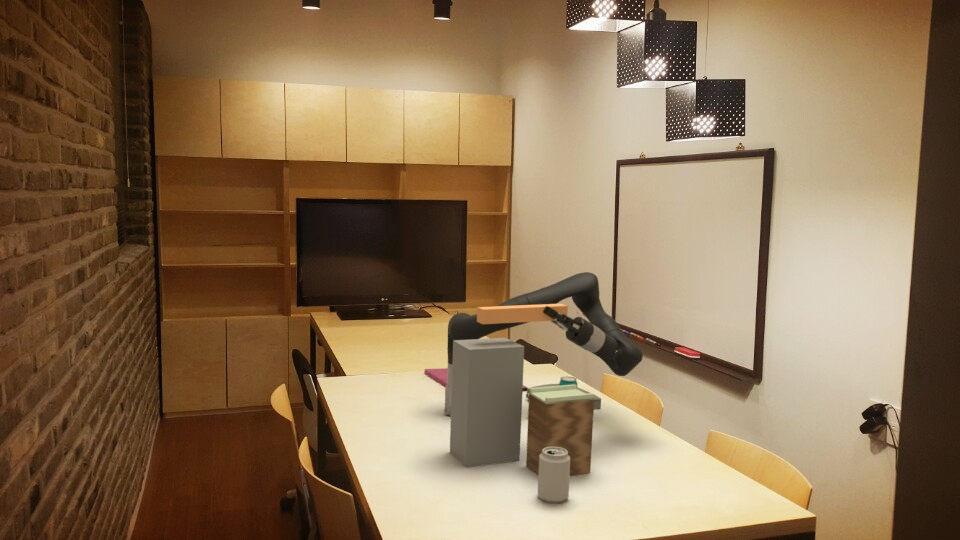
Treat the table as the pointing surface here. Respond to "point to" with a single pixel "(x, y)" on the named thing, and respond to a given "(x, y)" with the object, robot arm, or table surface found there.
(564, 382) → the beverage can
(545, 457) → the can
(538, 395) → the green tray
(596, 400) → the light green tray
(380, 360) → the table surface
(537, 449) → the walnut pedestal
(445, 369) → the thin magenta plate
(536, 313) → the orange wooden bar
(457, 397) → the grey stand
